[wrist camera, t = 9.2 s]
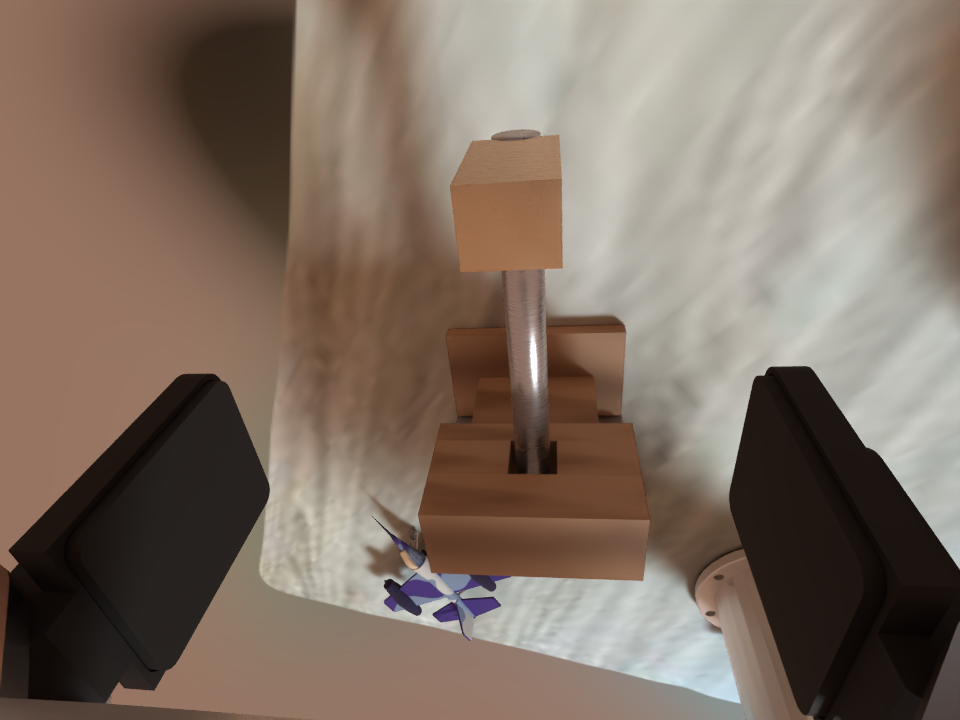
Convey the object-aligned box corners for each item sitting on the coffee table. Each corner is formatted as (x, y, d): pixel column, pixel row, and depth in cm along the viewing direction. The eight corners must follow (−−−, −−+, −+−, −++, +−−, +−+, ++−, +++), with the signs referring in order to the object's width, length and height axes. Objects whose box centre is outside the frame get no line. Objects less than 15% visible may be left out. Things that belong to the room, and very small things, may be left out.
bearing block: (618, 422, 42) (643, 580, 31) (461, 422, 44) (431, 573, 33) (624, 324, 37) (655, 470, 26) (448, 329, 39) (407, 467, 28)
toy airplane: (378, 491, 49) (367, 524, 46) (528, 531, 50) (527, 566, 47) (356, 574, 57) (346, 607, 54) (488, 608, 58) (484, 642, 55)
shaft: (563, 487, 35) (566, 595, 29) (508, 486, 36) (499, 592, 30) (558, 126, 23) (561, 178, 17) (476, 132, 24) (450, 185, 18)
